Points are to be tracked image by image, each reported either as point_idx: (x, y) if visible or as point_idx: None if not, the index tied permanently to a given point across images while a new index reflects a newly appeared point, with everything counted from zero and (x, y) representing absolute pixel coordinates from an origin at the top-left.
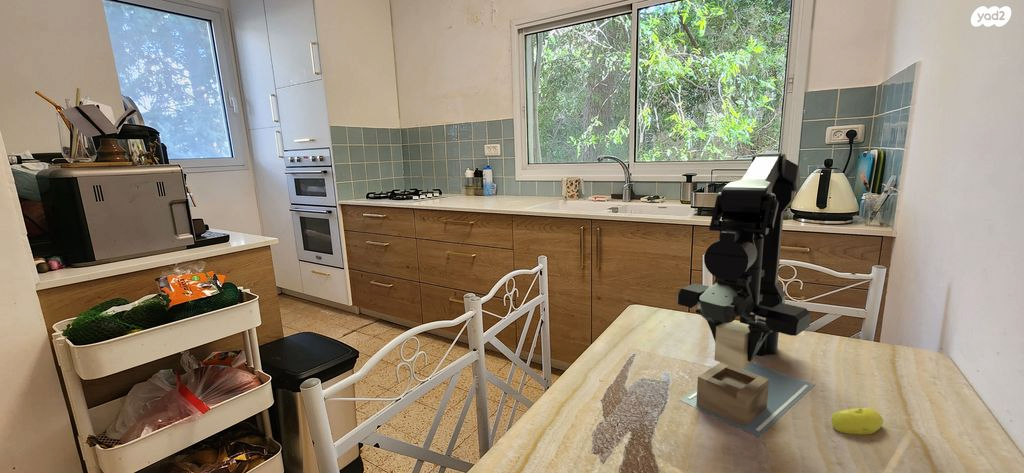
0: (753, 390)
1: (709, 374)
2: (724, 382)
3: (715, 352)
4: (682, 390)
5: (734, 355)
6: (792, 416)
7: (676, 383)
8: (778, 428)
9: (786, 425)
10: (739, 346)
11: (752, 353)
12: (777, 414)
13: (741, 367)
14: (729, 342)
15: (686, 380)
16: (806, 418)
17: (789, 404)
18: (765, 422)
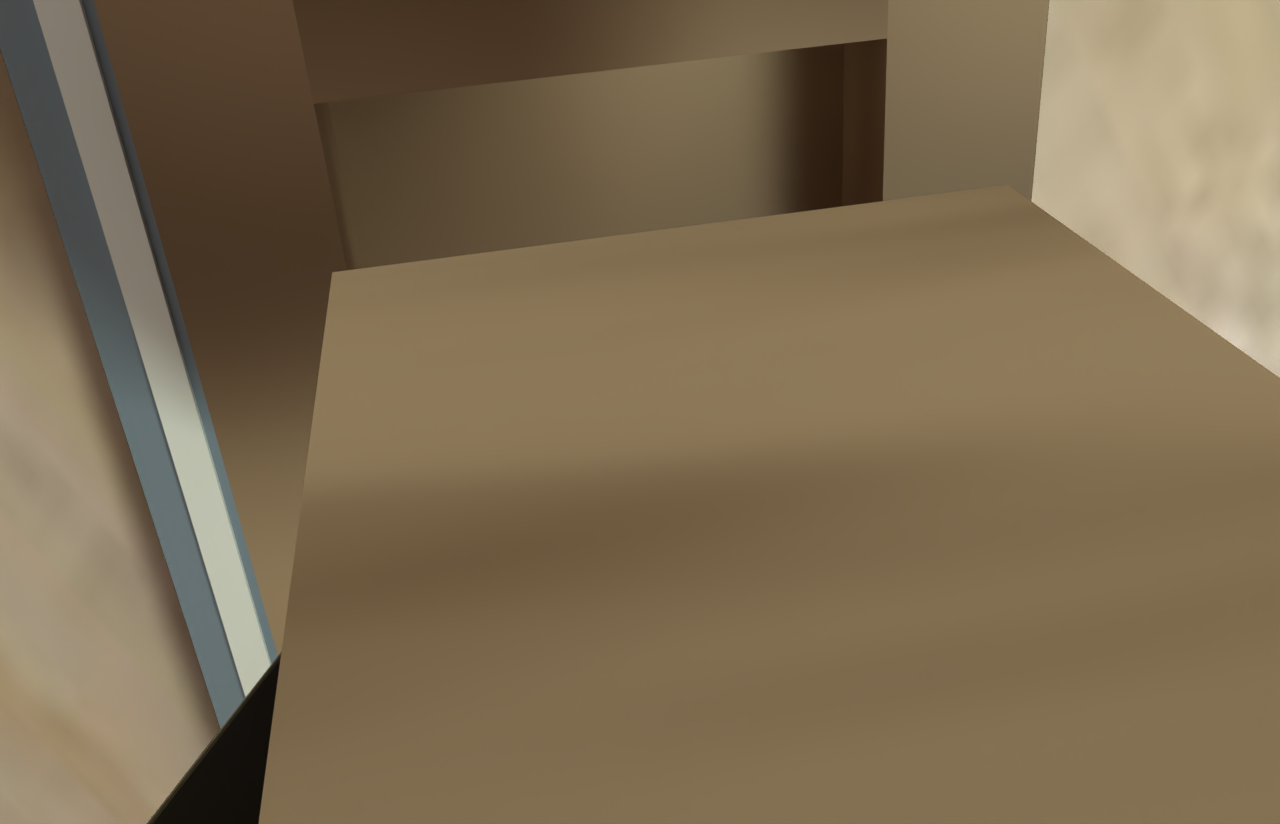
0: (174, 240)
1: (946, 97)
2: (631, 66)
3: (1097, 267)
4: (1146, 45)
5: (573, 385)
6: (137, 573)
7: (1261, 121)
8: (48, 271)
9: (50, 390)
10: (460, 643)
11: (197, 767)
12: (169, 441)
13: (347, 296)
14: (887, 592)
15: (1198, 273)
16: (49, 645)
17: (237, 687)
18: (107, 177)
